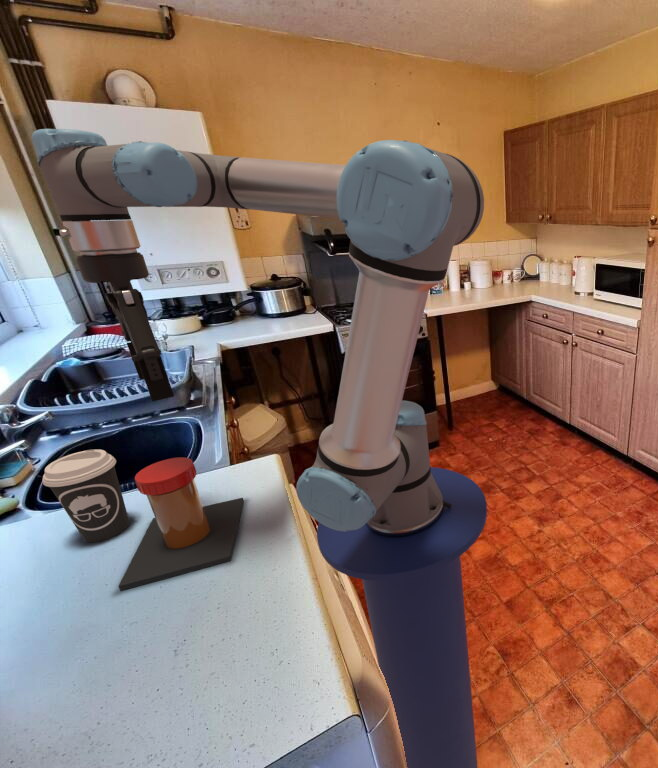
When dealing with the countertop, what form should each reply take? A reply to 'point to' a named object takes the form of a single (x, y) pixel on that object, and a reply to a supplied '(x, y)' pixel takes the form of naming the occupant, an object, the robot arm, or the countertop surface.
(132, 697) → the countertop surface
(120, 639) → the countertop surface
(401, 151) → the robot arm
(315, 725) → the countertop surface
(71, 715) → the countertop surface
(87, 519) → the coffee cup
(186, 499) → the jar
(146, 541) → the mat
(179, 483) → the lid
